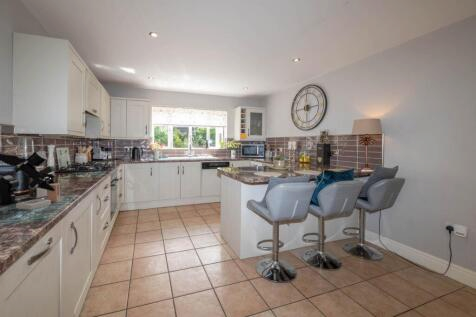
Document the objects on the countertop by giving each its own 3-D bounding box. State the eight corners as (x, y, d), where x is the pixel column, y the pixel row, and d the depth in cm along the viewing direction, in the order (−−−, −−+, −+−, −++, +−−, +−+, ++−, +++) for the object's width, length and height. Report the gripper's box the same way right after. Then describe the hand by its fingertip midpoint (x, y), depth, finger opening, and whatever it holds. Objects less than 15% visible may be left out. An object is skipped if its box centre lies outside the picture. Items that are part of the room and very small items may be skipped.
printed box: (28, 197, 141) (27, 178, 140) (41, 194, 148) (40, 176, 147) (36, 198, 139) (35, 179, 138) (49, 195, 146) (48, 177, 145)
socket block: (16, 208, 118) (16, 203, 118) (37, 203, 128) (36, 198, 128) (31, 209, 116) (30, 205, 116) (51, 204, 126) (50, 200, 126)
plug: (47, 202, 131) (46, 185, 130) (51, 200, 135) (50, 183, 134) (57, 201, 132) (56, 184, 131) (60, 199, 136) (59, 183, 135)
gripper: (34, 163, 121) (60, 182, 126) (51, 160, 139) (73, 177, 143) (17, 178, 120) (43, 197, 124) (36, 173, 137) (59, 190, 142)
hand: (56, 189), depth 133 cm, fingers closed on plug, 4 cm apart
